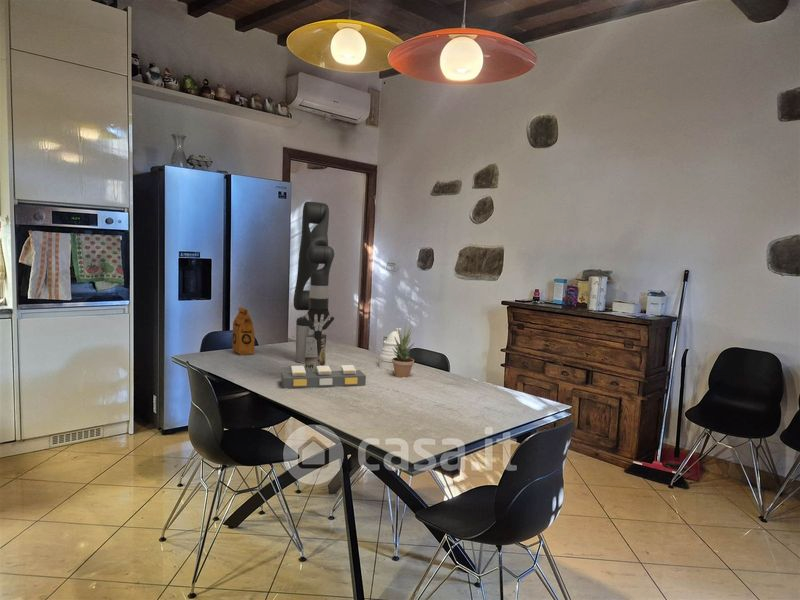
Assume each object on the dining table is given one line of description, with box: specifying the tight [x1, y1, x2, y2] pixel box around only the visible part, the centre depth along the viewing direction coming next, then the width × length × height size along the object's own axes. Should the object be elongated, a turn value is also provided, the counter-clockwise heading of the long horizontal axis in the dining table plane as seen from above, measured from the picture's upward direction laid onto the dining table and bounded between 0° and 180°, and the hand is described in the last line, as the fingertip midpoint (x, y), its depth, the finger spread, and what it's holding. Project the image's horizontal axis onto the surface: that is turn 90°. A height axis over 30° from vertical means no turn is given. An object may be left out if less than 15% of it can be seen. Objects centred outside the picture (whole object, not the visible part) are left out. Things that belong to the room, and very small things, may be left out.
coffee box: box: [304, 333, 327, 372], centre depth 242 cm, size 9×6×16 cm
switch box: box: [280, 369, 367, 389], centre depth 223 cm, size 11×32×4 cm, turn 108°
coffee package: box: [231, 306, 256, 356], centre depth 274 cm, size 10×12×22 cm
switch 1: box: [290, 365, 306, 376], centre depth 220 cm, size 6×5×1 cm
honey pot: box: [378, 327, 408, 371], centre depth 259 cm, size 13×13×18 cm
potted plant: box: [392, 322, 415, 378], centre depth 242 cm, size 10×10×25 cm
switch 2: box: [316, 365, 332, 375], centre depth 223 cm, size 6×5×1 cm
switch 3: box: [340, 364, 357, 374], centre depth 226 cm, size 6×5×1 cm
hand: (317, 339), depth 223 cm, fingers closed
